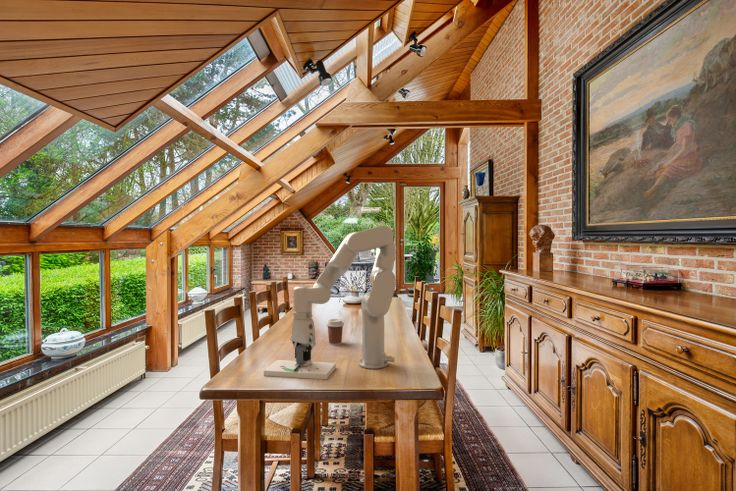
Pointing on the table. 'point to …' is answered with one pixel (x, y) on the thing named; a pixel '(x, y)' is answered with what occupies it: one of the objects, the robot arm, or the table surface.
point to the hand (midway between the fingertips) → (302, 358)
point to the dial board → (300, 370)
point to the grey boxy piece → (301, 357)
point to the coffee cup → (335, 331)
